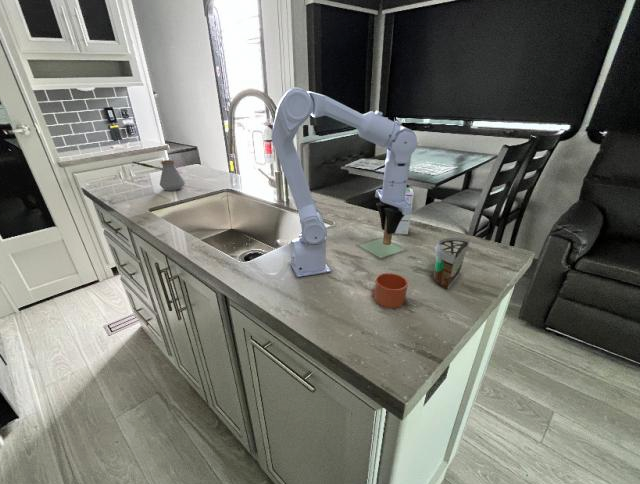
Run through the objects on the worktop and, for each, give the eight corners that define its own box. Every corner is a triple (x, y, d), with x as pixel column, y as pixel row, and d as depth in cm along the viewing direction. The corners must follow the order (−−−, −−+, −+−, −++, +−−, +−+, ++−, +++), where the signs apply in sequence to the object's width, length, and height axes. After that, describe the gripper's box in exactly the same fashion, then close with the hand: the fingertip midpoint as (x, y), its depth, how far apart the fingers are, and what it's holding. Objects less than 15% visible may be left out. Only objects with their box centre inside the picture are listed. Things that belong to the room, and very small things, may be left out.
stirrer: (385, 245, 86) (389, 213, 82) (381, 242, 88) (385, 210, 84) (392, 244, 87) (397, 212, 82) (388, 241, 89) (392, 210, 84)
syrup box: (408, 235, 108) (415, 192, 101) (390, 233, 109) (395, 191, 102) (406, 228, 113) (413, 187, 105) (389, 227, 114) (395, 186, 107)
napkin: (380, 259, 94) (380, 258, 94) (358, 246, 101) (358, 245, 101) (404, 250, 98) (405, 249, 98) (382, 238, 106) (382, 238, 106)
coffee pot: (180, 184, 163) (174, 153, 156) (190, 188, 156) (183, 156, 148) (136, 192, 151) (127, 159, 144) (144, 198, 144) (135, 164, 136)
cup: (382, 310, 73) (385, 292, 70) (368, 293, 79) (370, 275, 76) (410, 304, 75) (414, 287, 72) (394, 288, 81) (397, 271, 78)
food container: (438, 264, 91) (445, 232, 86) (460, 271, 87) (470, 238, 82) (421, 283, 82) (428, 248, 77) (445, 292, 79) (454, 256, 74)
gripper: (427, 186, 74) (417, 240, 81) (394, 171, 86) (388, 219, 93) (400, 189, 72) (392, 244, 79) (370, 173, 84) (365, 222, 91)
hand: (388, 231), depth 86 cm, fingers closed on stirrer, 2 cm apart
